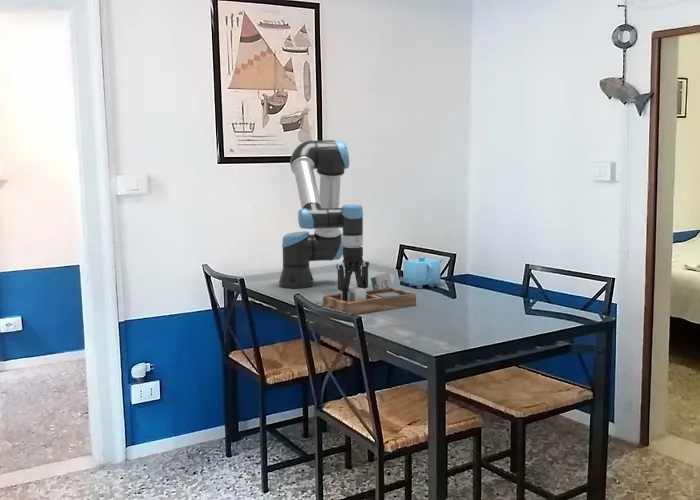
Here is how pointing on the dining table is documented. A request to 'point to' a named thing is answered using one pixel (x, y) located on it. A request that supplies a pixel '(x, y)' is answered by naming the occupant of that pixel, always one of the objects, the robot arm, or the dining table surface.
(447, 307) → the dining table surface
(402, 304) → the wooden compartment tray
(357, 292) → the white block
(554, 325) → the dining table surface
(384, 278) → the electrical switch
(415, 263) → the teapot
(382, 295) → the grey module
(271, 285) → the dining table surface
